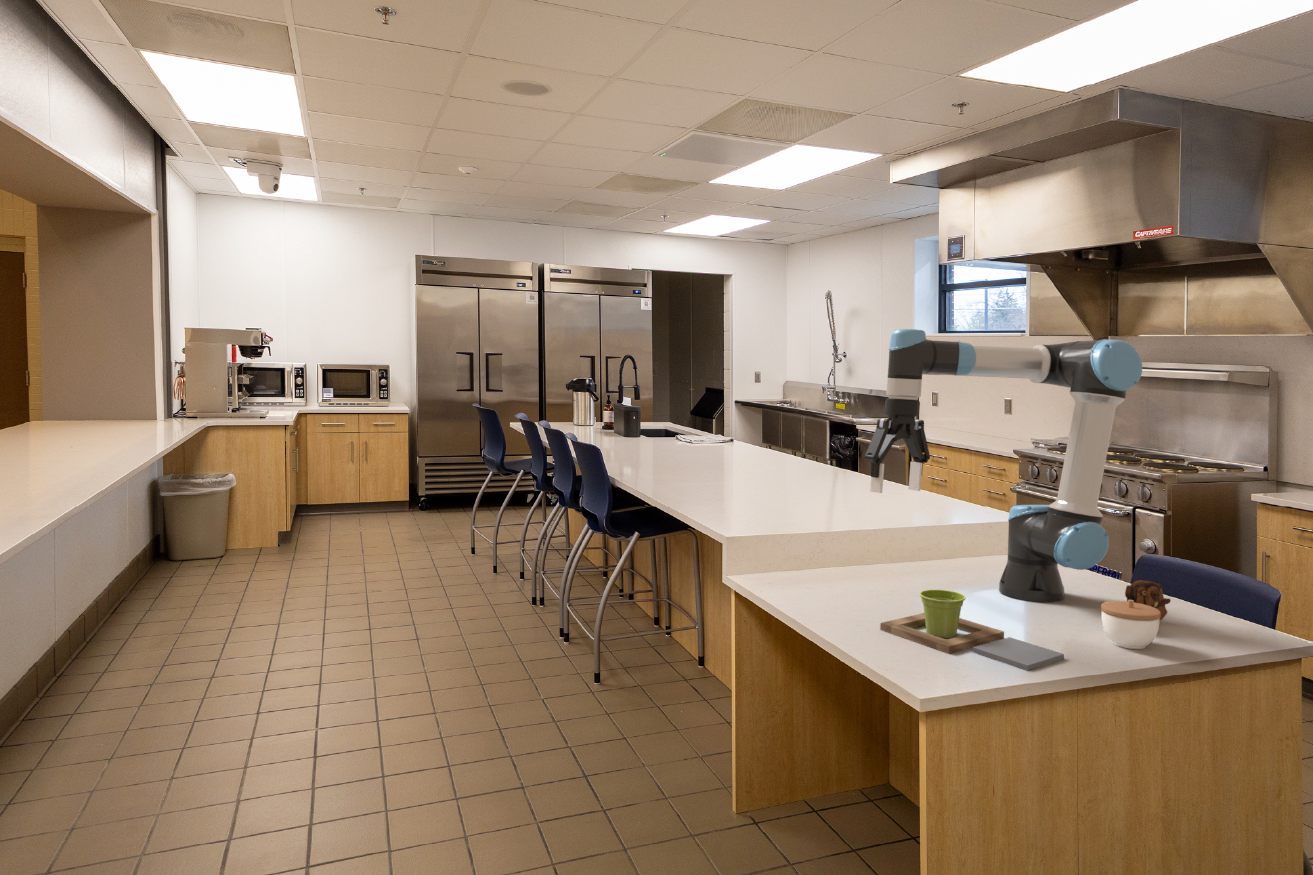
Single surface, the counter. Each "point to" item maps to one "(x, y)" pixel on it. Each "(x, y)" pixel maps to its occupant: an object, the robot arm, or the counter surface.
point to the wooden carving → (1148, 595)
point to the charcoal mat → (1018, 653)
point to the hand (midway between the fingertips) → (895, 491)
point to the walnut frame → (975, 638)
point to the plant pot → (942, 611)
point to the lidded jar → (1130, 623)
